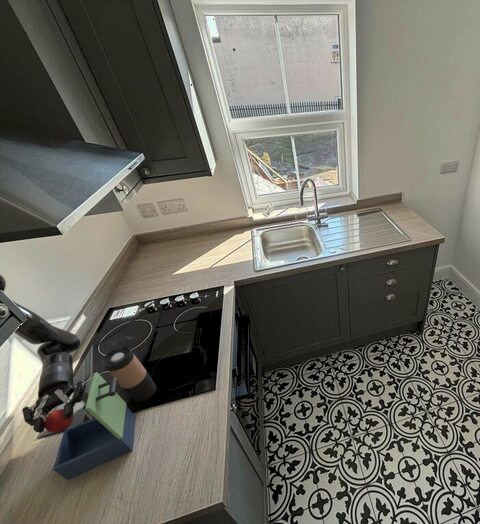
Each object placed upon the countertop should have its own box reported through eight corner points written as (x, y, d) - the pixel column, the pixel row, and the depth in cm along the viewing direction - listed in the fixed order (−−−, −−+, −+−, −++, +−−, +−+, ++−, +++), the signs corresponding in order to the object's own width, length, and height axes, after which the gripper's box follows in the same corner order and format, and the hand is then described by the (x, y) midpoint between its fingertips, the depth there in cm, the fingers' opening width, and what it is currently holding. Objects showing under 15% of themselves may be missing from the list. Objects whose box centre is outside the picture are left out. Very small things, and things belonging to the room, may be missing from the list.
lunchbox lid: (85, 409, 72) (109, 399, 74) (93, 373, 81) (115, 365, 83) (119, 439, 82) (139, 430, 84) (123, 404, 91) (142, 396, 92)
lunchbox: (68, 480, 81) (52, 470, 77) (77, 441, 89) (64, 430, 85) (132, 450, 86) (121, 439, 82) (135, 416, 95) (125, 404, 91)
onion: (69, 437, 82) (50, 423, 77) (49, 438, 82) (29, 424, 77) (84, 416, 87) (67, 402, 82) (65, 417, 87) (47, 402, 82)
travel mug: (141, 406, 97) (111, 370, 86) (127, 398, 100) (96, 361, 89) (162, 387, 103) (135, 350, 92) (148, 379, 106) (120, 343, 94)
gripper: (17, 387, 85) (7, 435, 73) (78, 360, 92) (78, 400, 80) (34, 400, 89) (28, 448, 78) (91, 374, 96) (93, 414, 85)
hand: (53, 423), depth 79 cm, fingers closed on onion, 5 cm apart
